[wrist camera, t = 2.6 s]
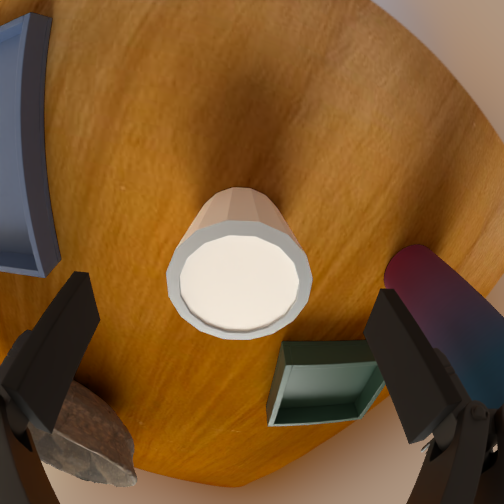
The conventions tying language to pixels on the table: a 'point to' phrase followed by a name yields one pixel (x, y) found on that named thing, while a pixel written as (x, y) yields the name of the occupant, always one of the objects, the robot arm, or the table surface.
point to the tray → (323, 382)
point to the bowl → (88, 440)
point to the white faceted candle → (239, 268)
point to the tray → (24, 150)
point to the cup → (453, 320)
